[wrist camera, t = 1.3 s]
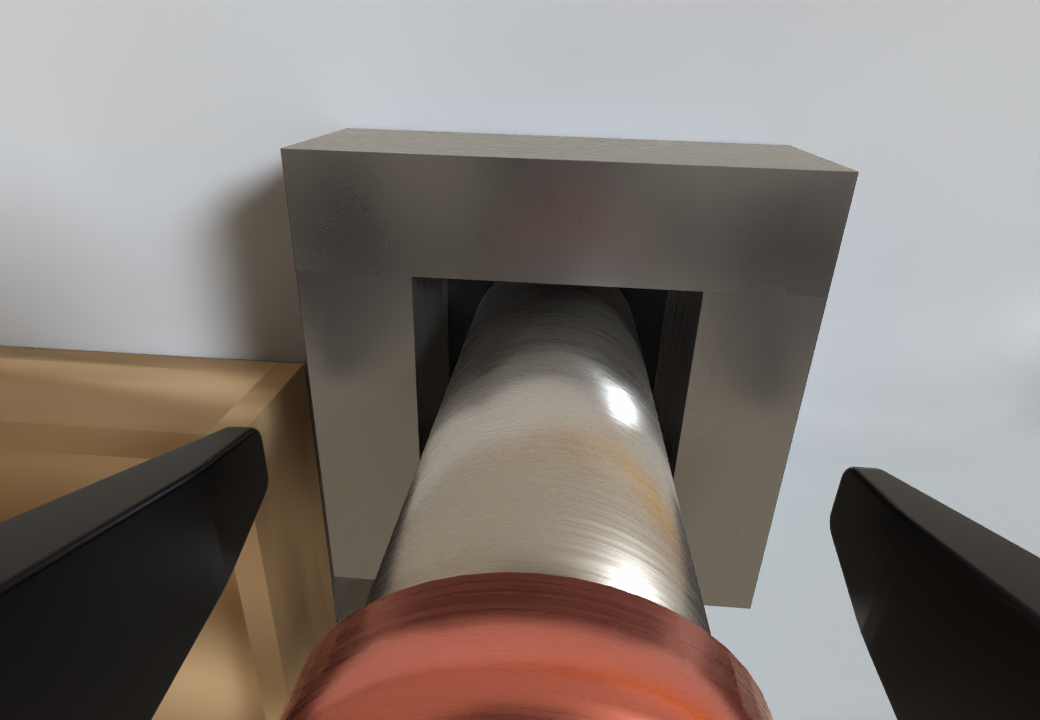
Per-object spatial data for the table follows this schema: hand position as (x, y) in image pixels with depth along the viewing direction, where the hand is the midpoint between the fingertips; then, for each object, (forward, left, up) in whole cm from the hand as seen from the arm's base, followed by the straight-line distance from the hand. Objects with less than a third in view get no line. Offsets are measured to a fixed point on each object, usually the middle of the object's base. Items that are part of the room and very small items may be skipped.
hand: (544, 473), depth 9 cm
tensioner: (-3, 0, -5) cm, 6 cm away
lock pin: (0, 0, -5) cm, 5 cm away
